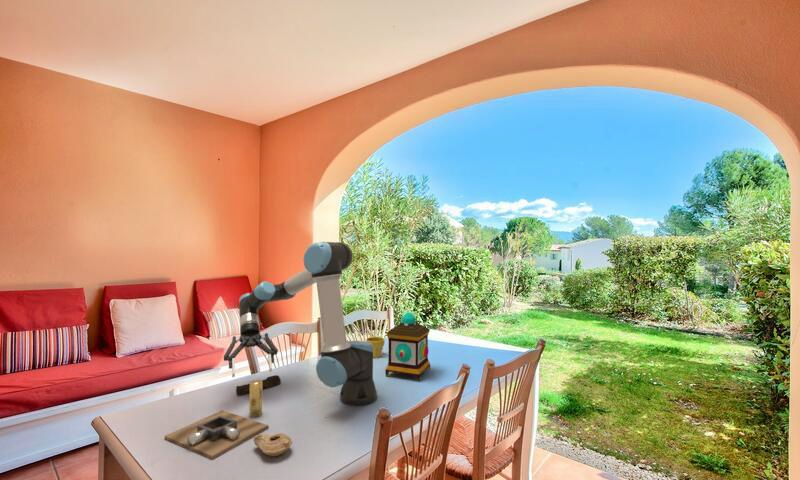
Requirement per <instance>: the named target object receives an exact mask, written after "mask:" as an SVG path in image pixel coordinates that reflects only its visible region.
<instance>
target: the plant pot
mask: <svg viewBox="0 0 800 480" xmlns="http://www.w3.org/2000/svg"><path fill="white" fill-rule="evenodd" d="M365 342H369V343H371V344H372V345H373V359H379V358H380V357H382V352H383V347H384V346H385V338H384V337H381V336H369V337H367V338H366V339H365Z"/></svg>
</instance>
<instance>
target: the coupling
mask: <svg viewBox="0 0 800 480" xmlns="http://www.w3.org/2000/svg"><path fill="white" fill-rule="evenodd" d="M249 384H250V392H249V407H248V408H249V409H248V410H249V413H248V414H249V418H258V417H260V416H262V415H263V388H262V379H256V380H255V379H254V380H251V381H250V382H249Z"/></svg>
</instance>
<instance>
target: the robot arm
mask: <svg viewBox="0 0 800 480" xmlns="http://www.w3.org/2000/svg"><path fill="white" fill-rule="evenodd" d="M353 259H354V254H353V251H352V249H351V248H350V246H349V245H347V244H346V243H344V242H339V241H338V242H337V241H336V242H335V241H318V242H314V243H311V244H310V245H309V246H308V247H307V249H305V252H304V254H303V266H304V268H305V269H303V270H302V271H300V272H298V273H296V274H294V275H293V276H291V277H290V278H288V279H286V280H284V281H283V282H281V283H277V284H273V283H272V282H269V281H267V280H265V281H261V282H260V283H259V284H258V285H256V287H255V288H254V289H253V290H252V291H251V292H247V293H244V294H242V295H240V297H239V299H238V301H239V302H238V310H239V311H238V312H239V326H240V327H239V332H240V333H239V334H240V336H239V337H236V336H234V335H233V337H232V340H231V343H230V345H229V347H228V348H227V350H226V352H225V354H224V355H223V361H224V362H226V361H227V362H228V369H229V370H230V369H231V377H232V378H235V375H236V374H235V372H236V370H235V367H236V366H235V358H236V357H237V356H238V355H239V353H241V351H243V349H244V348H245V347H246V348H251V347H257V348H259V349H261V350H262V351H263V352H265V354H267V355H268V357H267V359H268V368H269V373H271V372H272V371H273V364H274V363H275V355H278V352H279V350H278V348H277V346H275V344H274V343H273V341H272V340H271V339H270V337H269V334H268V333H267V332H266V333H264V334H262V335H261V333H260V332H261V331H260V320H259V310H260V309H261V308H262V307H263V306H264V305H265V304H266V303H272V302H273V303H274V302H278V301H283V300H284V301H287V300H290V299H293V298H295V297H296V295H297V293H300V292H302V291H303V290H305V289H307V288H309V287H310V286H312V285H314V284H316V289H317V296H318V297H317V299H318V305H319V306H318V307H319V313H320V314H319V316H320V323H321V333H322V338H323V346H322V347H321V349H320V358H319V360H318V361H317V363H316V366H315V367H316V368H315V371H316V375H317V378H318V379H319V381H320V382H322V384H323V385H325V386H326V387H329V388H336V387H339V386H341V388H340V392H339V400H340V402H341V403H342V404H345V405H348V406H352V407H353V406H355V407H356V406H357V407H359V406H366V405H369V404H370V405H371V404H372V403H375V401H376V400H377V398H378V391H377V389H376V385H375V382H374V358H373V345H372V344H371V343H369V342H366V340H365V341H364V340H347V334H346V326H345V319H344V311H343V310H344V309H343V302H342V294H341V287H340V286H341V285H340V278H341V277H342V276H343V271H344V270H346V269H348V268H349V267H350V266H351V265H352V263H353ZM261 339H262V340H263V341H264V342H265V343H264V342H263V341H262V340H261ZM238 342H240V344H239V345H238V346H237V347H236V349H235V350H234V351H233V349H234V347H235V345H236V344H237V343H238ZM232 351H233V352H232Z"/></svg>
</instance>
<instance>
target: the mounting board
mask: <svg viewBox="0 0 800 480" xmlns="http://www.w3.org/2000/svg"><path fill="white" fill-rule="evenodd" d="M220 415H221V416H224V417H227V418H230V419H233V420H236V421H237V429H238V430H240V436H239V438H238V439H236V440H233V439H230V438H227V437H225V436H224V437H222V438H220V439H218V440H217V441H215V442H213V441H211V440H208V439H205V440H203V441H201V442H199V443H197V444H195V445H193V446H190V445H189V444H188V441H187V439H188V437H189V436H190V435H193V434H195V433H197V426H198V425H200V424H203V423H205V422H207V421H209V420H212V419H214V418H216V417H218V416H220ZM220 427H221V426H219V427H217V428H215V429H214V430H216V429H218V428H220ZM269 427H270V426H269V424H265V423H264V422H263V423H262V422H260V421H256V420H255V419H254V420H253V419H251V418H247V417H244V416H242V415H237V414H234V413H232V412H229V411H226V410H223V409H222V410H219V411H218V412H215V413H212V414H211V415H208V416H206V417H204V418H202V419H199V420H197V421H196V422H193V423H191V424H188V425H186V426H184V427H181V428H180V429H177V430H174V431H172V432H171V433H168V434H166V435H164V440H166V441H168V442H171V443H173V444H175V445H178V446H180V447H183V448H184V449H187V450H189V451H192V452H194V453H196V454H198V455H200V456H203V457H205V458H207V459H209V460H215V459H216V458H218V457H220V456H222V455H224V454H225V453H227V452H228V451H230V450H232V449H234V448H235V447H236V448H237V447H238V446H240V445H241V444H243V443H245V442H247V441H248V440H250V439H252V438H254V437H255V436H257V435H260V434H261V433H263V432H265V431H266V430H268V429H269Z"/></svg>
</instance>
